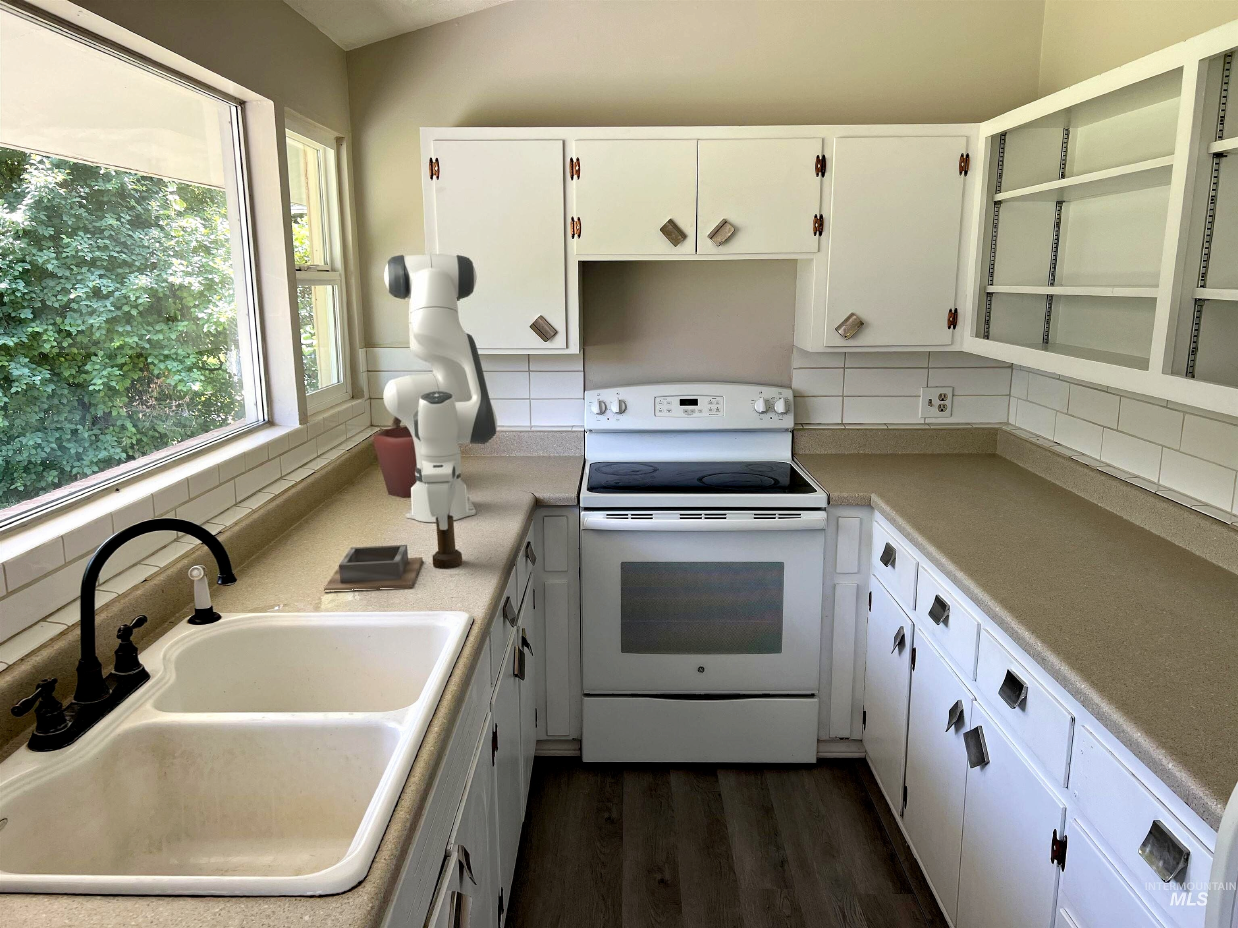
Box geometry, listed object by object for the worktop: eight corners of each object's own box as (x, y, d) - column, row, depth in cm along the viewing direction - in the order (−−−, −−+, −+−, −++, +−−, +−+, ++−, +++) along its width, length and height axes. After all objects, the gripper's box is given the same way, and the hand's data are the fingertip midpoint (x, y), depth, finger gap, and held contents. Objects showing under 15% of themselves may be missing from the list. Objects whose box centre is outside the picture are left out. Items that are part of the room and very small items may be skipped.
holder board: (342, 565, 201) (341, 544, 200) (422, 561, 202) (421, 540, 201) (324, 592, 183) (321, 570, 182) (411, 588, 185) (410, 565, 184)
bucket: (461, 495, 263) (456, 412, 257) (386, 505, 253) (379, 419, 248) (440, 479, 284) (435, 402, 279) (371, 487, 275) (364, 408, 270)
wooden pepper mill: (449, 557, 205) (444, 482, 201) (468, 562, 201) (463, 486, 197) (427, 565, 200) (421, 488, 196) (445, 570, 196) (440, 492, 192)
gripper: (432, 456, 205) (436, 513, 208) (420, 476, 185) (425, 539, 188) (459, 455, 206) (463, 512, 209) (451, 475, 186) (455, 537, 189)
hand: (445, 525), depth 198 cm, fingers closed on wooden pepper mill, 4 cm apart
